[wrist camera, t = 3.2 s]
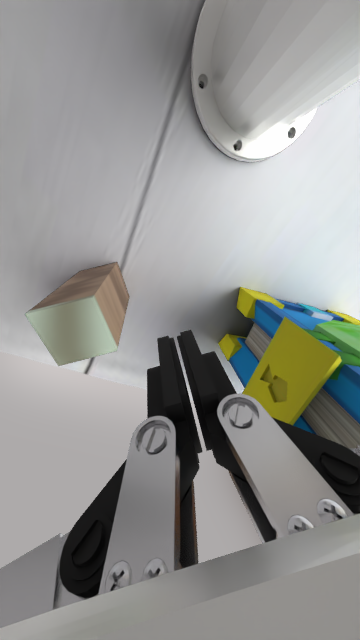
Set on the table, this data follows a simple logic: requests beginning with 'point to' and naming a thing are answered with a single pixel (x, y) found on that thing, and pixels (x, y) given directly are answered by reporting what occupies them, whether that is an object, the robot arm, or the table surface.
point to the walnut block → (83, 315)
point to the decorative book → (300, 365)
